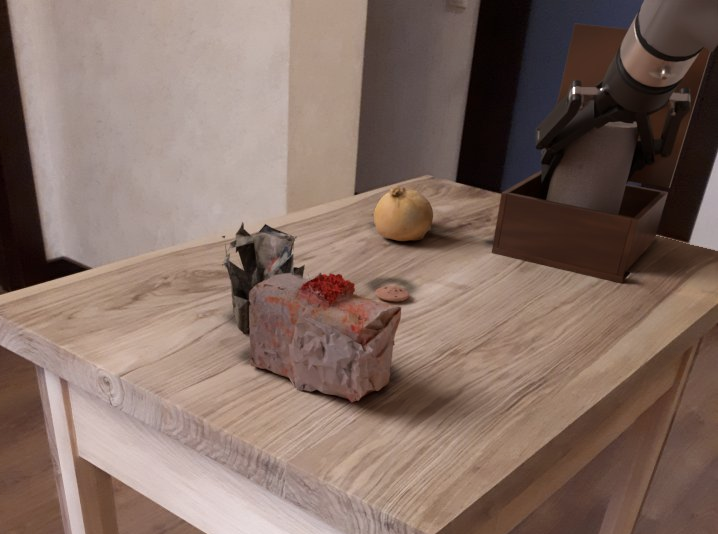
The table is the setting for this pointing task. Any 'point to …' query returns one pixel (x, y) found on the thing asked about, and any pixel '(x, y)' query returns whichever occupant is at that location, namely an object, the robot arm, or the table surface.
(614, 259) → the chest
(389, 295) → the cookie
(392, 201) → the onion
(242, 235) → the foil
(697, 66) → the chest lid
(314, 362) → the food item
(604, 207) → the pillar candle
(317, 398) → the table surface
